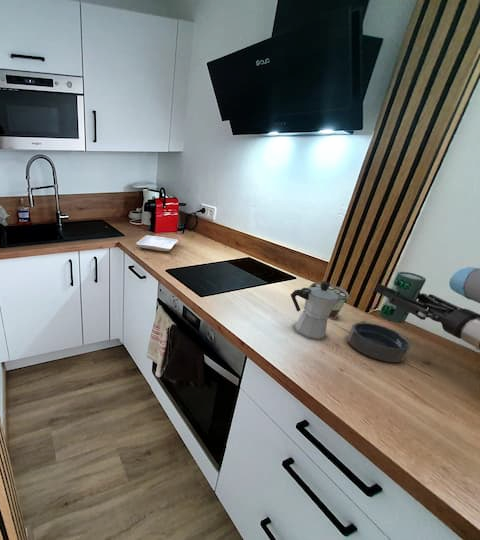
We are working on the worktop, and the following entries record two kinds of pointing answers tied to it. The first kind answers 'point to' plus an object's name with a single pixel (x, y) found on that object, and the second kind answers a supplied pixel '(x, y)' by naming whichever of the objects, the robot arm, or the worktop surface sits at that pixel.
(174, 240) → the plate
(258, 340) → the worktop surface
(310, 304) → the coffee maker
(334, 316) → the food container
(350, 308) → the worktop surface
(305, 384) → the worktop surface
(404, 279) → the can
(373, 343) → the basin
